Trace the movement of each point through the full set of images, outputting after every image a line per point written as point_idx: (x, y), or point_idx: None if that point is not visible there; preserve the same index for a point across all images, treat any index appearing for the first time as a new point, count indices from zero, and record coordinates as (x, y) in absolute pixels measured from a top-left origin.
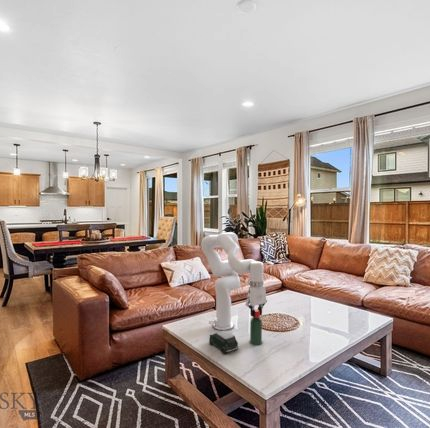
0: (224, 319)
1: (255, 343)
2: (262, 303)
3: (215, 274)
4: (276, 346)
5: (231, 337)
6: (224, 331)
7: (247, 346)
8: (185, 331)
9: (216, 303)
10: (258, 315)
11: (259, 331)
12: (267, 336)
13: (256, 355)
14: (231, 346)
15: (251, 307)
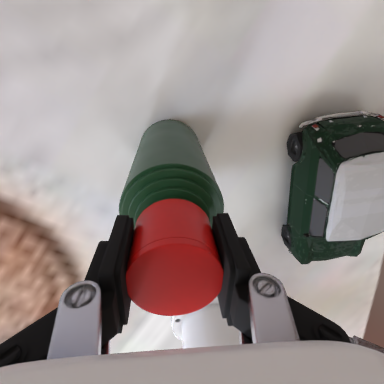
0: (231, 337)
1: (188, 128)
2: (65, 364)
3: None
4: (85, 44)
5: (369, 154)
6: (352, 227)
7: (232, 133)
8: (337, 324)
9: None
10: (171, 210)
11: (168, 137)
12: (78, 174)
13: (255, 16)
14: (360, 119)
15: (295, 320)
